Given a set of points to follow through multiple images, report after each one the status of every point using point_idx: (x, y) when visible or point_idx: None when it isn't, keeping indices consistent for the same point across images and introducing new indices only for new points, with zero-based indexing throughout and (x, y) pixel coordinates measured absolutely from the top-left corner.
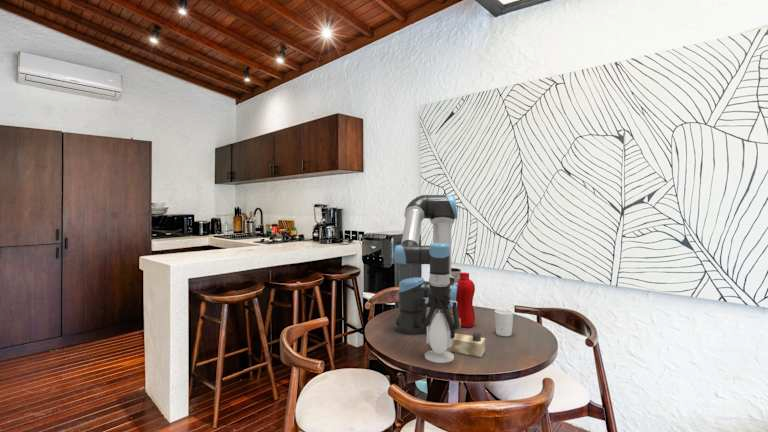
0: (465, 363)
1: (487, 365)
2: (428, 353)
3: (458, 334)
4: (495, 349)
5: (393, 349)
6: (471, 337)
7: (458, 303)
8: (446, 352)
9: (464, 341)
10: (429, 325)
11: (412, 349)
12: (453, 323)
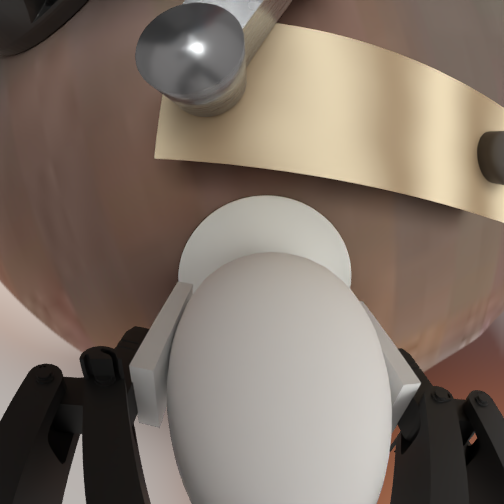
0: (400, 306)
1: (473, 287)
2: (197, 280)
3: (380, 62)
4: (497, 99)
5: (31, 266)
6: (466, 114)
7: None
8: (300, 227)
9: (437, 201)
10: (145, 390)
11: (94, 231)
12: (452, 434)
